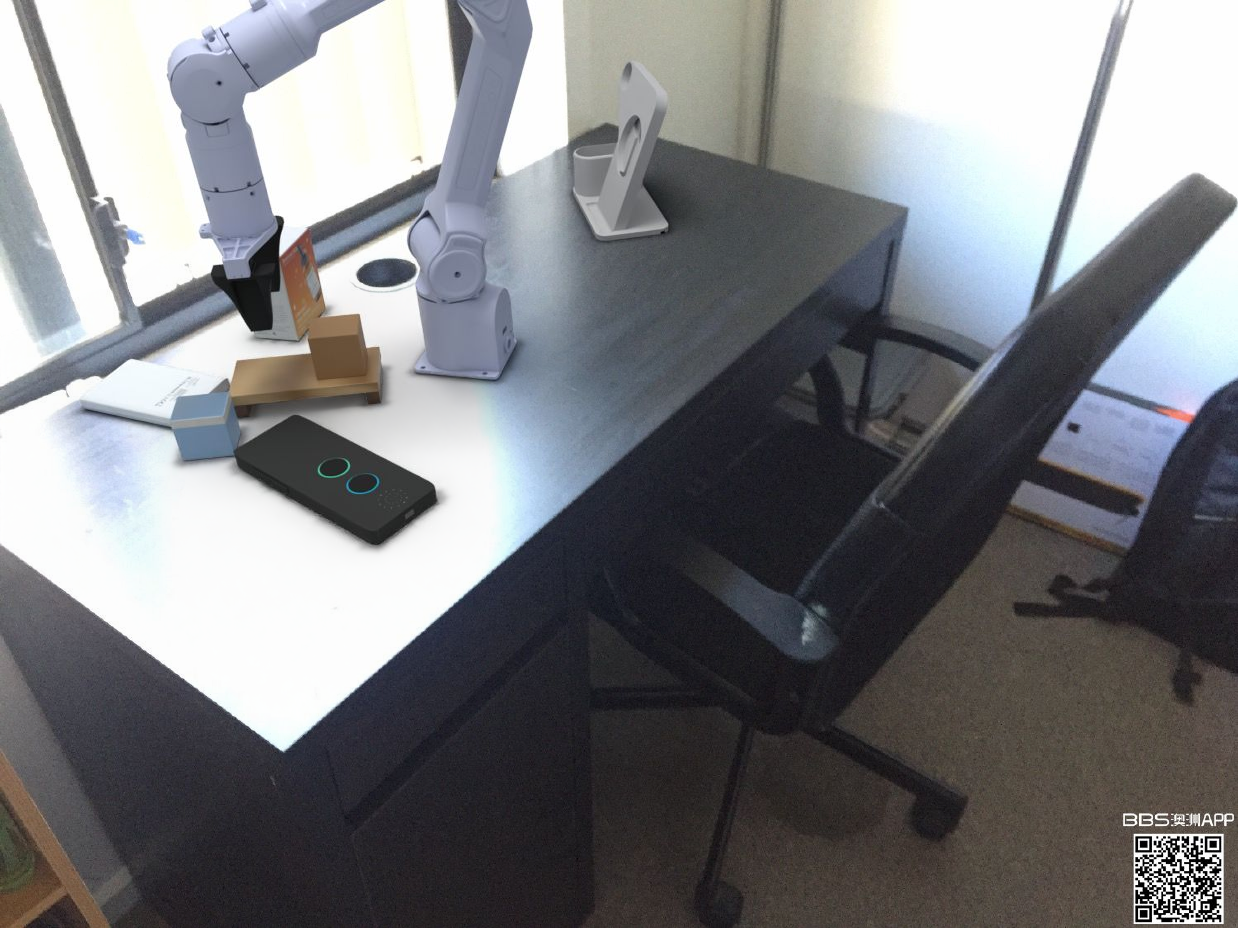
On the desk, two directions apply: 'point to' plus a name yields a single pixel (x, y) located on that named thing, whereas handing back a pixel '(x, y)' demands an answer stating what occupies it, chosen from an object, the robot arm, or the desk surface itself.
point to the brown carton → (337, 346)
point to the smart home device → (336, 478)
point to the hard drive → (148, 390)
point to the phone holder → (624, 163)
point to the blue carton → (205, 426)
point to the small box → (295, 287)
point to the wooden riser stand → (298, 381)
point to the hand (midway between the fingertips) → (265, 309)
